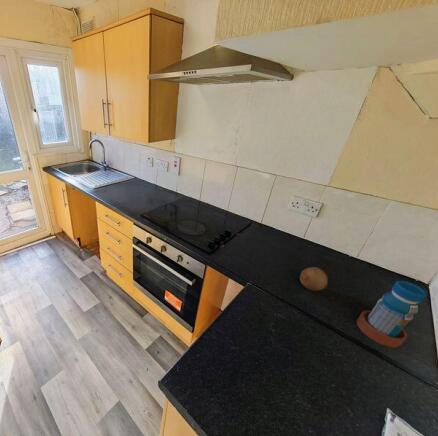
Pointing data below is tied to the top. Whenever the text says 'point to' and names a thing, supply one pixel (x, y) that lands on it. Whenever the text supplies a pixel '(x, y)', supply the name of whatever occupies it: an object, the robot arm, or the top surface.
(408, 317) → the beverage bottle
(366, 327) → the bottle stand
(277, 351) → the top surface
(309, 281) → the onion
